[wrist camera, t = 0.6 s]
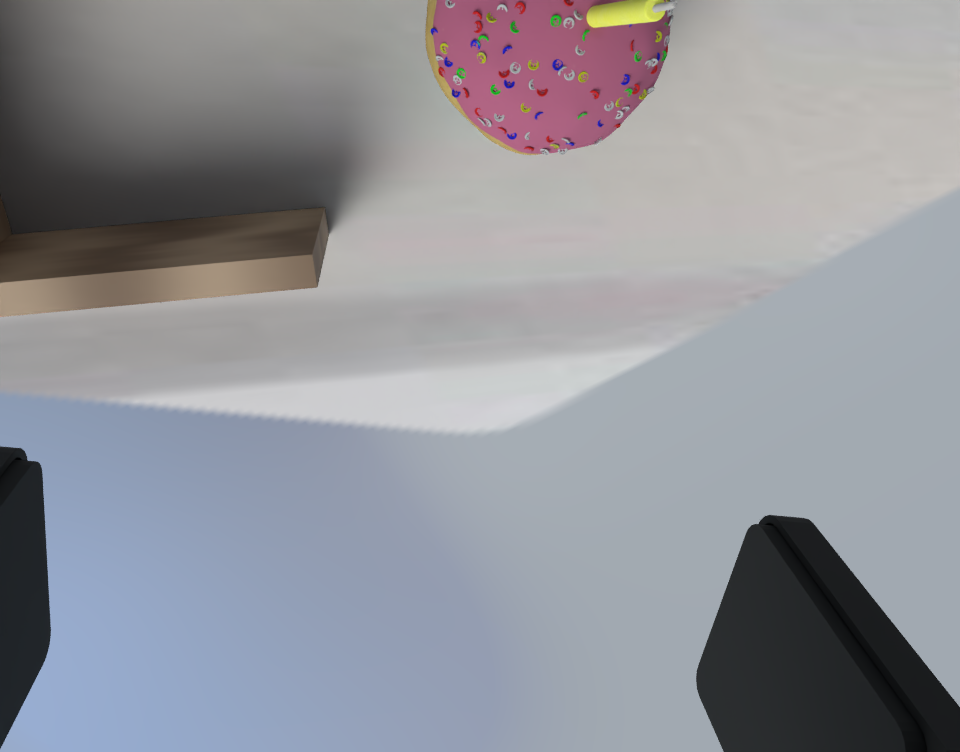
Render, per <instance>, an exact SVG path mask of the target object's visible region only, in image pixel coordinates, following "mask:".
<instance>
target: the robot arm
mask: <svg viewBox="0 0 960 752" xmlns="http://www.w3.org/2000/svg"><path fill="white" fill-rule="evenodd" d="M46 553H47V552H46V534H45V515H44V498H43V478H42V468H41V465H40V463H38V462H35V461H27V456H26V454H25V451H24V450H22V449H21V448H11V447H0V748H1V746H2V744H3V742H4V740H5V738H6V736H7V734H8V732H9V730H10V729H11V727H12V725H13V722H14V721H15V719H16V717H17V715H18V713H19V711H20V709H21V706H22V705H23V703H24V701H25V699H26V697H27V695H28V693H29V691H30V689H31V687H32V685H33V683H34V681H35V679H36V677H37V675H38V673H39V671H40V669H41V667H42V665H43V663H44V661H45V658H46V655H47V652H48V648H49V644H50V636H51V635H50V633H51V627H50V610H49V609H50V608H49V590H48V571H47V554H46ZM696 681H697V690H698V693H699V696H700V699H701V701H702V703H703V706H704V708H705V710H706V712H707V715H708V717H709V719H710V721H711V724H712V726H713V728H714V730H715V733H716V735H717V737H718V740H719V742H720V744H721V746H722V749H723V751H724V752H960V707H959V706H958V704H957V703H956V702H955V701H954V699H953V698H952V697H951V696H950V694H949V693H948V692H947V691H946V689H945V688H944V687H943V686H942V684H941V683H940V682H939V681H938V680H937V678H936V677H935V676H934V674H933V673H932V672H931V671H930V669H929V668H928V667H927V666H926V664H925V663H924V662H923V660H922V659H921V658H920V657H919V655H918V654H917V653H916V652H915V650H914V649H913V648H912V647H911V645H910V644H909V643H908V642H907V640H906V639H905V638H904V637H903V635H902V634H901V633H900V632H899V630H898V629H897V628H896V627H895V625H894V624H893V623H892V622H891V620H890V619H889V618H888V617H887V615H886V614H885V613H884V612H883V610H882V609H881V608H880V607H879V605H878V604H877V603H876V602H875V600H874V599H873V598H872V597H871V595H870V594H869V593H868V592H867V590H866V589H865V588H864V586H863V585H862V584H861V583H860V581H859V580H858V579H857V578H856V577H855V575H854V574H853V573H852V571H850V569H849V568H848V566H847V565H846V564H845V563H844V561H843V560H842V559H841V558H840V556H839V555H838V554H837V553H836V552H835V550H834V549H833V547H832V546H831V545H830V544H829V542H828V541H827V540H826V539H825V537H824V536H823V535H822V534H821V533H820V531H819V530H818V529H817V527H816V526H815V525H814V524H813V523H812V522H811V521H810V520H809V519H805V518H796V517H785V516H774V515H768V516H765V517H764V518H763V519H762V520H761V521H760V522H759V524H754V525H752V526H751V527H750V528H749V529H748V531H747V533H746V535H745V538H744V541H743V544H742V546H741V549H740V552H739V555H738V557H737V560H736V563H735V566H734V568H733V571H732V574H731V577H730V580H729V582H728V585H727V588H726V591H725V593H724V596H723V599H722V602H721V604H720V608H719V610H718V613H717V616H716V618H715V621H714V624H713V627H712V629H711V632H710V635H709V638H708V640H707V643H706V646H705V649H704V652H703V654H702V657H701V660H700V663H699V665H698V669H697V676H696Z"/></svg>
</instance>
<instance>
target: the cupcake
mask: <svg viewBox="0 0 960 752" xmlns="http://www.w3.org/2000/svg"><path fill="white" fill-rule="evenodd" d="M676 5H677V3H676V1H670V0H428V7H427V20H426V49H427V54H428V58H429V61H430V64H431V67H432V70H433V73H434V75H435V78H436V80H437V82H438V84H439V86H440V87H441V89H442V91H443V92H444V94H445V95H446V97H447V98H448V99H449V101H450V102H451V103H452V104H453V105H454V106H455V107H456V109H457V110H458V111H459V112H460V113H461V114H462V115H463V116H464V117H465V118H466V119H468V120H469V121H470V122H471V123H472V124H473V125H474V126H475V127H476V128H477V129H478V130H479V131H480V132H481V133H482V134H483V135H484V136H485V137H487V138H488V139H489V140H491V141H492V142H494V143H496V144H498V145H499V146H501V147H503V148H505V149H507V150H510V151H513V152H516V153H519V154H525V155H537V154H546V155H547V154H549V153H555V152H558V153H559V154H565V153H566V152H567V150H570V149H575V148H580V147H584V146H588V145H592V144H595V145H598V144H599V143H600V142H601V140H603V139H605V138H606V137H608V136H609V135H610V134H611V133H612V132H613V131H614V130H616V129H617V128H618V127H620V126H621V125H620V124H621V123H622V122H623V121H624V120H625V119H626V118H627V117H628V116H629V115H630V114H631V113H632V111H633V110H634V109H635V108H636V107H637V106H638V105H639V104H640V103H641V102H642V101H643V100H644V98H645V97H646V96H647V95H648V94H649V93H651V92H652V91H653V90H654V89H655V88H654V87H653V86H654V84H655V82H656V80H657V78H658V76H659V74H660V71H661V68H662V66H663V63H664V60H665V58H666V56H667V52H668V43H669V34H670V25H671V23H672V20H673V15H671V14H672V11H673V8H675V7H676ZM670 15H671V16H670ZM562 151H564V152H562Z"/></svg>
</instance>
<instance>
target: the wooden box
mask: <svg viewBox="0 0 960 752" xmlns="http://www.w3.org/2000/svg"><path fill="white" fill-rule="evenodd" d="M328 236H329V232H328V225H327V218H326V211H325V207H321V208H309V209H298V210H286V211H275V212H263V213H252V214H240V215H229V216H217V217H206V218H194V219H183V220H171V221H160V222H148V223H137V224H125V225H113V226H102V227H90V228H79V229H67V230H56V231H44V232H33V233H21V234H12V231H11V228H10V225H9V221H8V218H7V215H6V212H5V209H4V205H3V202H2V199H1V196H0V317H6V316H16V315H27V314H38V313H48V312H59V311H70V310H81V309H91V308H102V307H113V306H123V305H134V304H145V303H155V302H166V301H177V300H187V299H198V298H209V297H220V296H230V295H241V294H252V293H262V292H273V291H284V290H294V289H305V288H316V287H318V282H319V277H320V273H321V268H322V264H323V259H324V255H325V250H326V246H327V241H328Z"/></svg>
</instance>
